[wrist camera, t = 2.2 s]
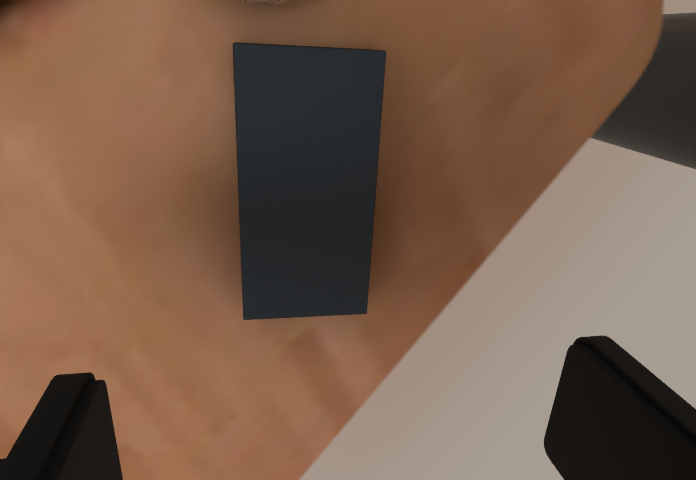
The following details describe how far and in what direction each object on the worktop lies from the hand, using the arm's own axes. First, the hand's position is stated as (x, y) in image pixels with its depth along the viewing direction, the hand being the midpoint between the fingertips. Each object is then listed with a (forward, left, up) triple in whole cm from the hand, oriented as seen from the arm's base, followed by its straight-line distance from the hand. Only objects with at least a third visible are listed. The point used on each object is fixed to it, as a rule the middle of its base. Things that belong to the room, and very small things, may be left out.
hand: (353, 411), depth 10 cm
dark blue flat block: (-1, 0, -16) cm, 16 cm away
